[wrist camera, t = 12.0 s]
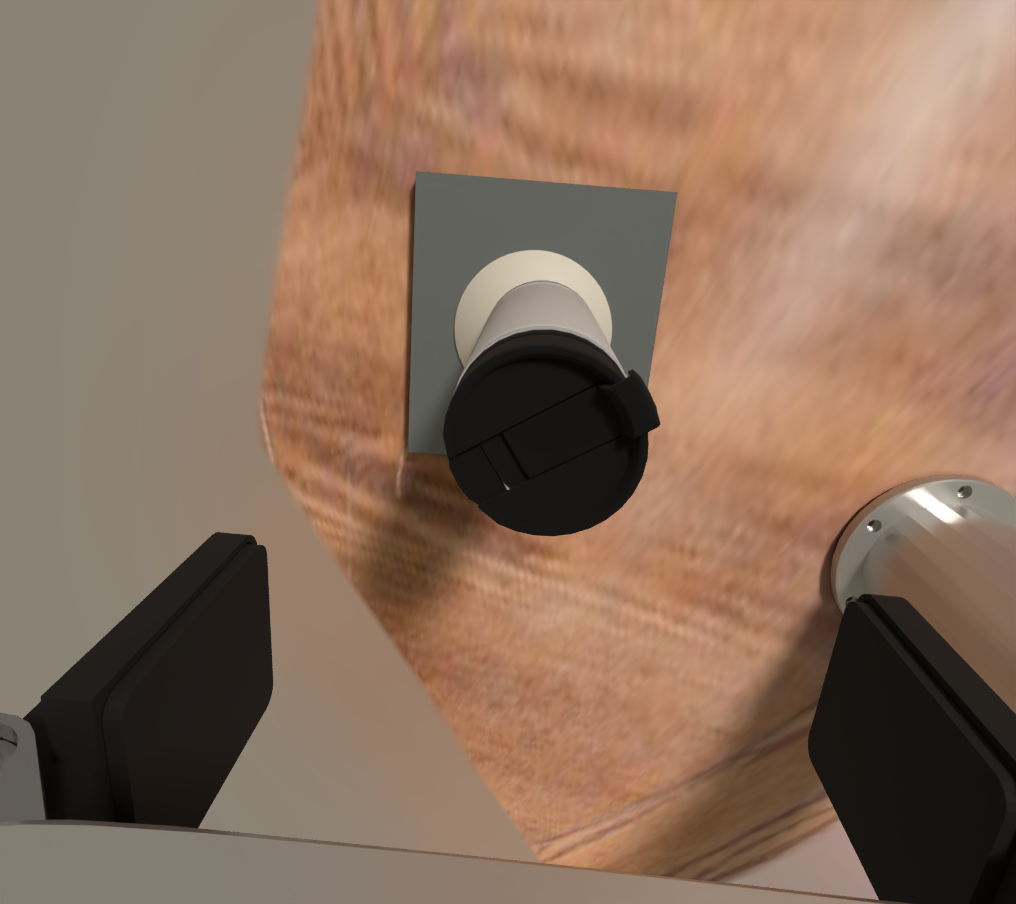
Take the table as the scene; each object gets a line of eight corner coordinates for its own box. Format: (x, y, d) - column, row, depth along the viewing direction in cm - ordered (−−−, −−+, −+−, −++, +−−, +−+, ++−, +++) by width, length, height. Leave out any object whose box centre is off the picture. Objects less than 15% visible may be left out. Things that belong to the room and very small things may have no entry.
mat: (632, 464, 42) (635, 472, 41) (411, 445, 42) (407, 452, 41) (673, 193, 37) (677, 192, 35) (419, 172, 37) (415, 171, 36)
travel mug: (620, 354, 38) (699, 489, 20) (519, 407, 40) (502, 581, 21) (569, 255, 37) (603, 298, 18) (466, 314, 38) (395, 411, 19)
